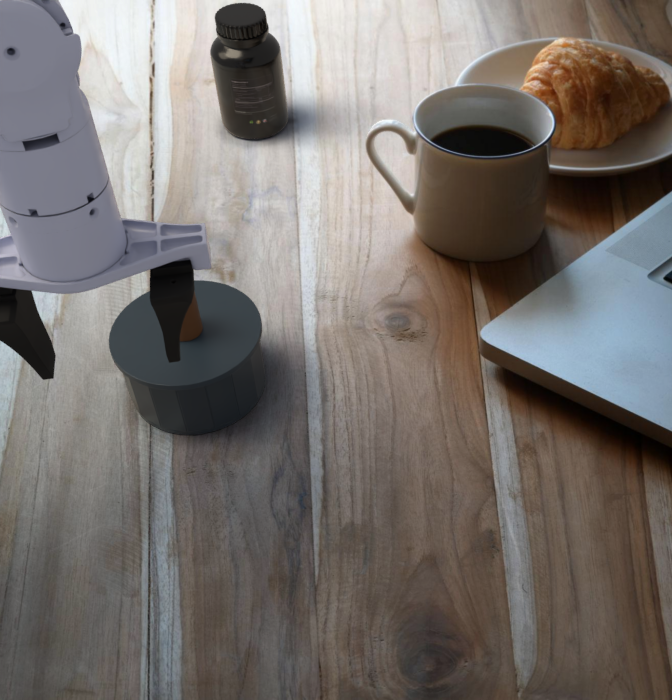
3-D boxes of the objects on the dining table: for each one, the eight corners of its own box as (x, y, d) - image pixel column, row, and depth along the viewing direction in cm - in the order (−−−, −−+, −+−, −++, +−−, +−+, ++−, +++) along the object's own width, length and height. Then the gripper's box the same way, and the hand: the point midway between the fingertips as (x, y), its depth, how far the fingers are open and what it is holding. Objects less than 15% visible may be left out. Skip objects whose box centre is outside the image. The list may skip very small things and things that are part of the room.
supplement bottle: (218, 110, 98) (199, 0, 89) (282, 101, 100) (270, -7, 91) (227, 146, 94) (208, 34, 85) (294, 136, 95) (283, 26, 87)
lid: (110, 406, 64) (90, 353, 60) (113, 300, 71) (96, 246, 67) (269, 384, 66) (260, 330, 62) (257, 282, 73) (248, 229, 69)
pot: (131, 444, 67) (114, 395, 64) (133, 346, 74) (117, 297, 70) (271, 423, 69) (262, 374, 65) (260, 330, 76) (252, 280, 72)
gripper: (190, 129, 53) (225, 301, 63) (-82, 154, 51) (-2, 330, 61) (194, 203, 49) (231, 378, 58) (-106, 235, 46) (-15, 412, 56)
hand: (112, 359), depth 59 cm, fingers open, 7 cm apart
